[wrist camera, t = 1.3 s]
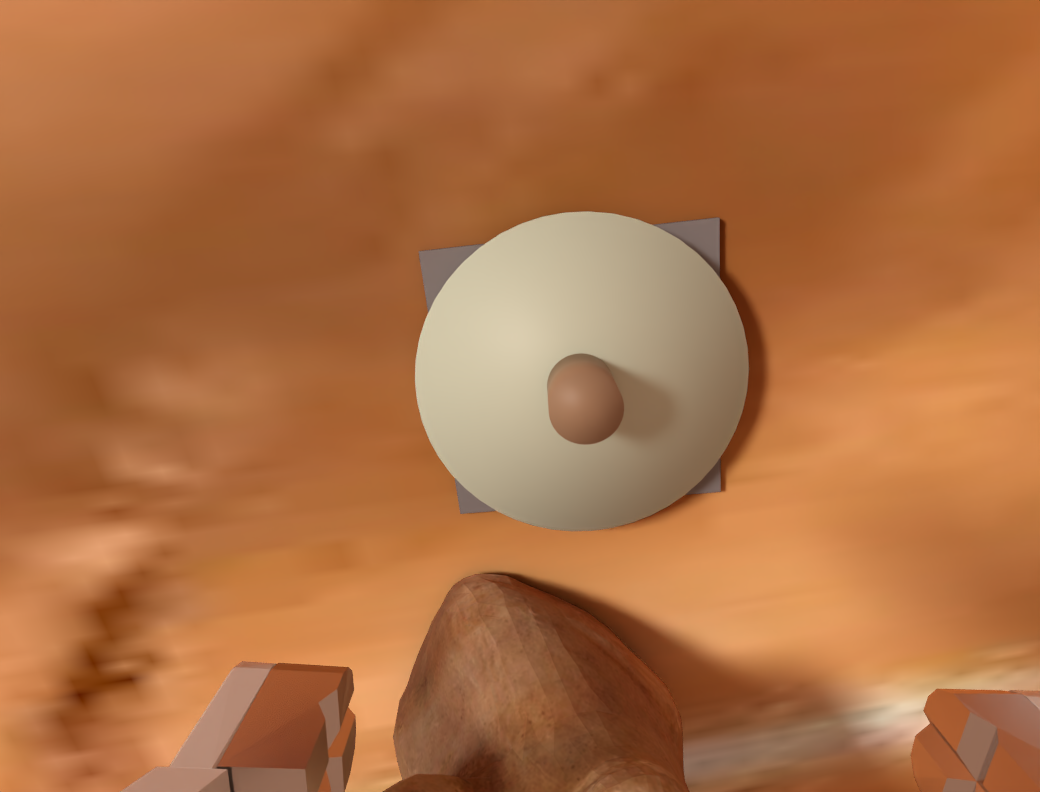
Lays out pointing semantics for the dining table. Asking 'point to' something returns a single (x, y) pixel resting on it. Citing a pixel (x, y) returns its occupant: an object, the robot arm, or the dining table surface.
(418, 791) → the ceramic vessel
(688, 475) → the lid
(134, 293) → the dining table surface
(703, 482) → the mat
